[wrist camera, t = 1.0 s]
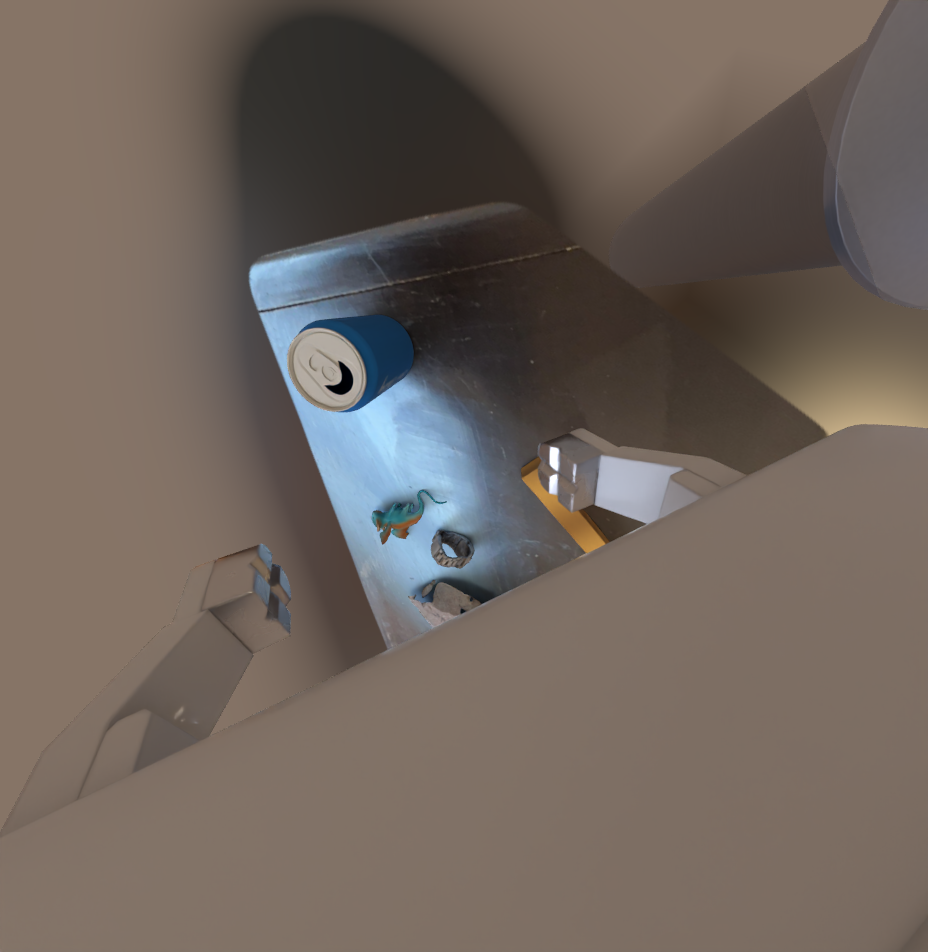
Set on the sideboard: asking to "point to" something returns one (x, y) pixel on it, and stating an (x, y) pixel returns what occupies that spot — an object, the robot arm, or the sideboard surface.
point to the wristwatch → (457, 543)
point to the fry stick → (565, 512)
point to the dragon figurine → (398, 519)
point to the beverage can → (349, 360)
